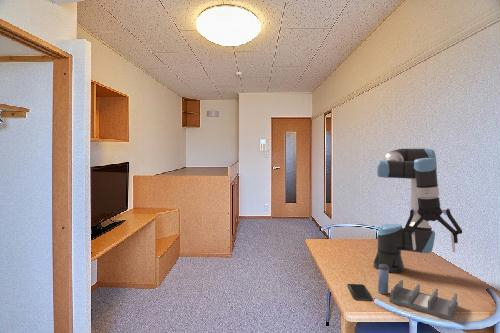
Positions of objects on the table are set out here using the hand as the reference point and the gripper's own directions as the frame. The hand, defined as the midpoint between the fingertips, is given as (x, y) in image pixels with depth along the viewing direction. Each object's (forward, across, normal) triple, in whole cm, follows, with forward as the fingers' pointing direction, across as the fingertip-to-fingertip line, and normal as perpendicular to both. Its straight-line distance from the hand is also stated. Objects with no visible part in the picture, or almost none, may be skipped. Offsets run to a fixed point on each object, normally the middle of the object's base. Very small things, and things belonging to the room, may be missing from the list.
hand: (433, 250), depth 127 cm
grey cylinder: (+21, -22, +2) cm, 30 cm away
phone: (+20, -30, -4) cm, 36 cm away
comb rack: (+23, -6, 0) cm, 24 cm away
